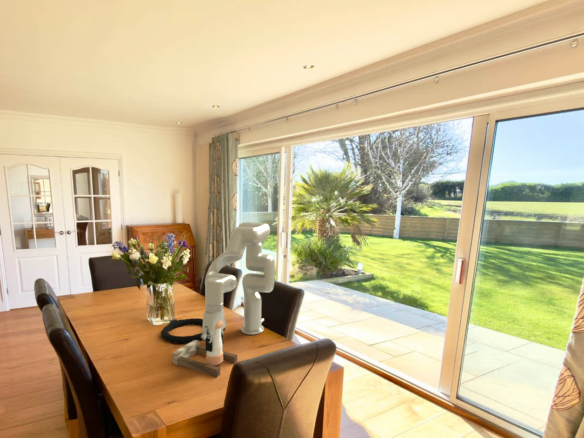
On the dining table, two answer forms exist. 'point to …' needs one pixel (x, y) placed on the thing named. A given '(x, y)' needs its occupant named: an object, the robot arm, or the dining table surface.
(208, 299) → the robot arm
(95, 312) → the dining table surface
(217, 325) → the pepper shaker
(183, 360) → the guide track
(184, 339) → the cable lock
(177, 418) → the dining table surface
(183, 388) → the dining table surface
